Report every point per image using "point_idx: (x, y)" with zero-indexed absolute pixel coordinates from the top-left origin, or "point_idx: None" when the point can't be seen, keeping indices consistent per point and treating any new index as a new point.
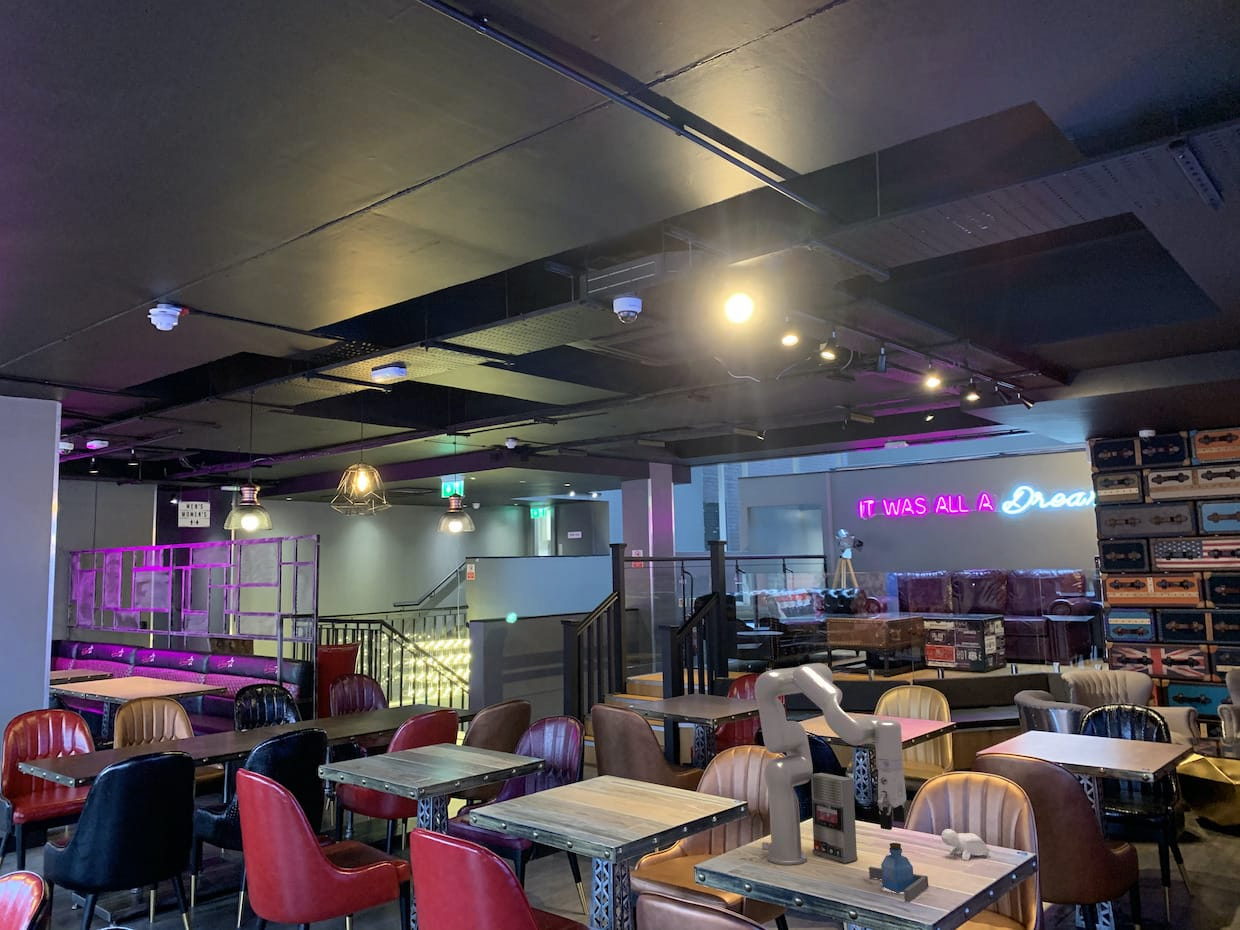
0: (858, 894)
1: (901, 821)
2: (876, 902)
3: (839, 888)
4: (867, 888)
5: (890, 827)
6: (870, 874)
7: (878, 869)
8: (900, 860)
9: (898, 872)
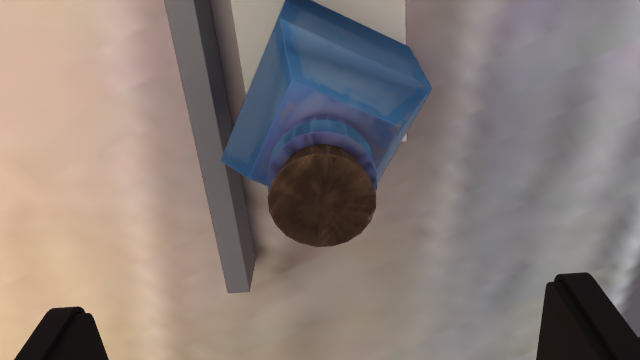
0: (519, 194)
1: (93, 334)
2: (603, 71)
3: (478, 289)
4: (406, 202)
5: (598, 298)
6: (252, 265)
7: (240, 246)
8: (360, 96)
9: (404, 70)
